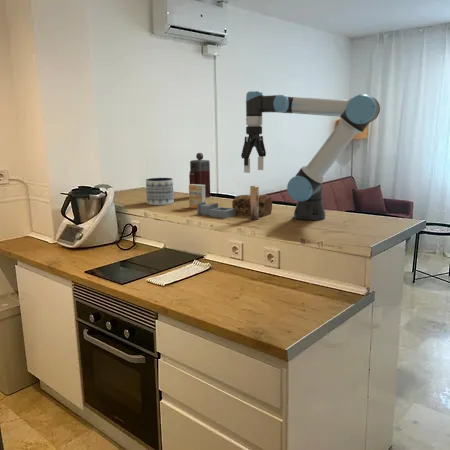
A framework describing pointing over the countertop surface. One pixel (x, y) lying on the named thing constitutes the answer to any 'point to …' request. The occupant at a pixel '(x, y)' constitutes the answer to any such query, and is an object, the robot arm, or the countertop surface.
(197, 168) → the coffee press
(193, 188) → the supplement box
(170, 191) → the planter
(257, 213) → the pipe stub
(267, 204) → the bread
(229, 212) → the grey ring bracket
